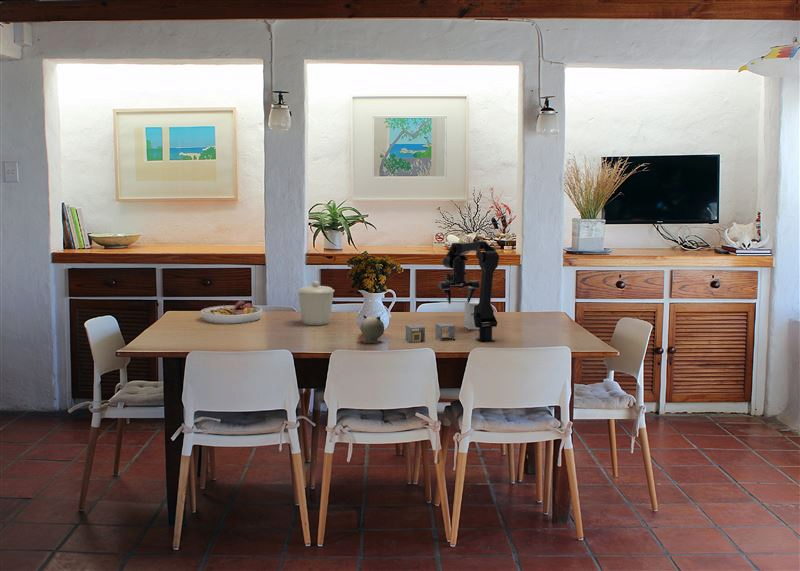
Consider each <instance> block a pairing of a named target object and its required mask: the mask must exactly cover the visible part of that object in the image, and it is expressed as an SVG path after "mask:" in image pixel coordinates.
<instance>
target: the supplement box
mask: <svg viewBox="0 0 800 571" xmlns="http://www.w3.org/2000/svg"><path fill="white" fill-rule="evenodd" d="M478 303H479V300H478V301H477V300H475V301H473V300H472V301H471V300H470V302H469V303H468V302H467V301H465V302H464V327H463V328H465V327H466V329H467V328H468V329H467V330H469V329H471V330H479V328H477V327H475V323H474V317H473V316H474V314H473V313H474V306H475V305H478Z"/></svg>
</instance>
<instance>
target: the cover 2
mask: <svg viewBox="0 0 800 571" xmlns="http://www.w3.org/2000/svg"><path fill="white" fill-rule="evenodd" d="M443 328H447V329H448V330H447V331H448V332H447V333H448V335H447V336H449V337H451V338H453V339H455V340H456V325H455V324H453V323H451V322H440V323H435V338H436V339H437V338H438V339H440V340H442V341H443ZM449 337H448V338H449ZM451 338H450V339H451ZM438 339H437V340H438ZM453 339H452V340H453ZM440 340H439V341H440Z"/></svg>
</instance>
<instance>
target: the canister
mask: <svg viewBox="0 0 800 571" xmlns="http://www.w3.org/2000/svg"><path fill="white" fill-rule="evenodd" d="M296 292H297V293H298V301H299V310H300V317H301V321H302V323H303V324H304V325H308V326H324V325H328V324H329V323H330V321H331V316H332V309H333V308H332V307H333V300H334V292H335V289H333V288H332V287H331V286H328V285H320V281H318V280H313V281H312V282H311V285H307V286H306V285H305V286H302V287H300V288H299V289H297V290H296Z"/></svg>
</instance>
